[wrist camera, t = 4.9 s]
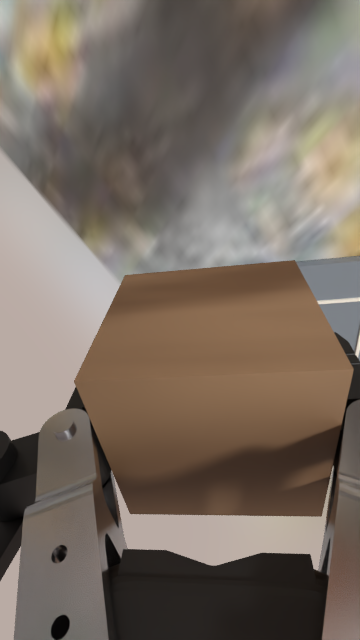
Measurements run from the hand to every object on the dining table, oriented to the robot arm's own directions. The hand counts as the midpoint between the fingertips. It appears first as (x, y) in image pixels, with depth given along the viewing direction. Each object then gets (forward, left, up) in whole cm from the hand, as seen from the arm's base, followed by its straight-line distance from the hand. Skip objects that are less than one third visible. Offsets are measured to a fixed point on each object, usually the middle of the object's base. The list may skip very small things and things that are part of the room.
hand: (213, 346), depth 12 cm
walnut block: (0, 0, -1) cm, 1 cm away
